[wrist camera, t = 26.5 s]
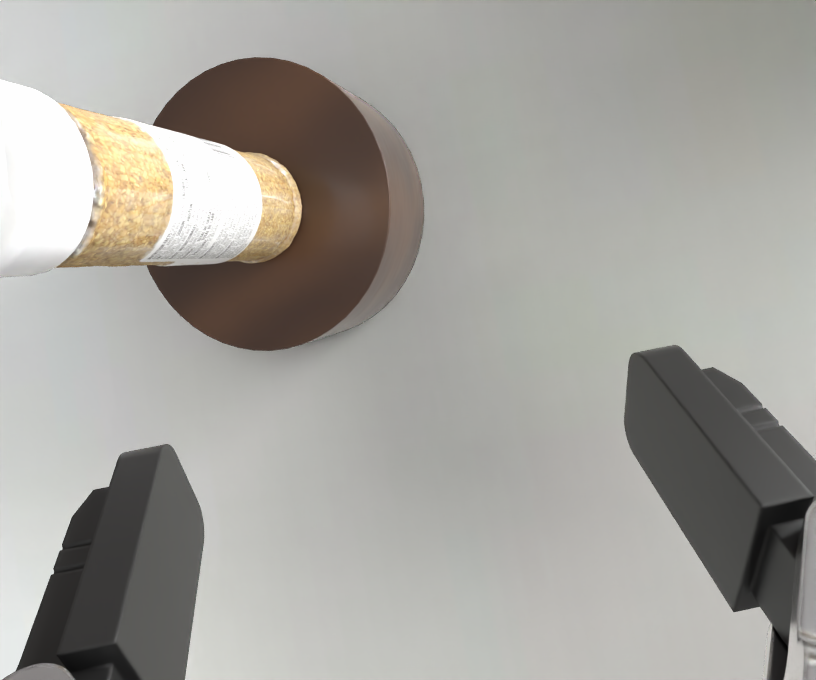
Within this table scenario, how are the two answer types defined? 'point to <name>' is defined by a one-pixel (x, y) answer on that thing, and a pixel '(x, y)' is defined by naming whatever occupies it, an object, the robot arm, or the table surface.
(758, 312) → the table surface
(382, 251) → the walnut stand
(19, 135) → the sprinkles bottle
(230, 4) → the table surface
